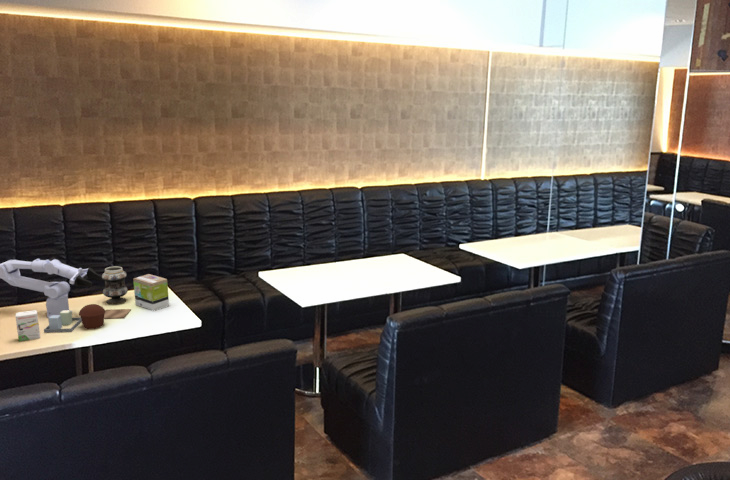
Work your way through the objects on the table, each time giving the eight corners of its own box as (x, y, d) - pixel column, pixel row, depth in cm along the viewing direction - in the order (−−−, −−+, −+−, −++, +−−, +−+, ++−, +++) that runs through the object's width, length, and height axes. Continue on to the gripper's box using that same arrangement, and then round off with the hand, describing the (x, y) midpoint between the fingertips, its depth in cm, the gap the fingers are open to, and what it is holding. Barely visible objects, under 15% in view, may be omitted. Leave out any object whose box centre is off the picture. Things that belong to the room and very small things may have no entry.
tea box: (134, 305, 325) (132, 277, 322) (151, 300, 333) (149, 273, 330) (153, 311, 317) (151, 282, 313) (169, 306, 325) (167, 278, 321)
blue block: (49, 330, 291) (48, 318, 290) (53, 327, 295) (51, 315, 293) (58, 330, 291) (57, 318, 290) (62, 327, 295) (60, 315, 294)
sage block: (60, 325, 298) (59, 312, 296) (63, 322, 301) (62, 310, 300) (69, 325, 298) (68, 312, 296) (72, 322, 302) (71, 309, 300)
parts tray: (44, 332, 288) (43, 329, 288) (56, 321, 303) (56, 318, 303) (71, 331, 289) (71, 328, 289) (82, 320, 304) (82, 317, 304)
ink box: (18, 341, 278) (15, 316, 275) (18, 337, 282) (15, 312, 280) (40, 338, 282) (37, 313, 279) (39, 334, 286) (36, 309, 284)
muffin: (111, 322, 301) (110, 302, 299) (97, 331, 291) (95, 310, 289) (89, 320, 304) (87, 300, 301) (74, 328, 293) (72, 308, 291)
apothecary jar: (133, 299, 334) (131, 266, 330) (116, 306, 323) (113, 272, 319) (116, 296, 339) (113, 264, 335) (98, 303, 328) (95, 269, 324)
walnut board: (98, 319, 306) (98, 318, 305) (106, 310, 317) (106, 309, 317) (124, 318, 307) (124, 317, 307) (131, 310, 318) (130, 308, 318)
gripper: (61, 271, 297) (88, 280, 296) (80, 259, 311) (105, 268, 310) (60, 284, 300) (86, 293, 299) (78, 272, 313) (104, 281, 312)
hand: (96, 281), depth 305 cm, fingers open, 7 cm apart
